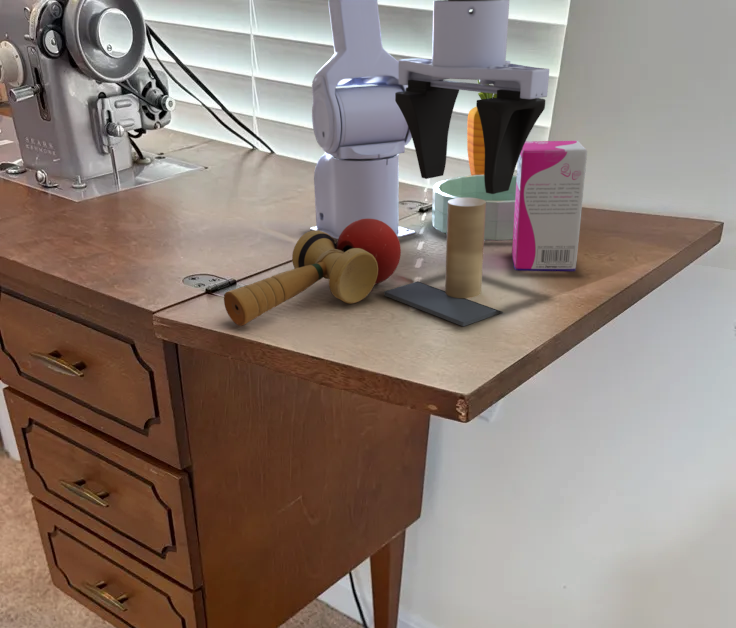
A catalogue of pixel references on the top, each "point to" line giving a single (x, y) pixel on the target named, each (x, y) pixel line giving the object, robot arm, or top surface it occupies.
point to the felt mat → (441, 303)
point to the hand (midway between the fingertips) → (463, 183)
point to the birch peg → (464, 247)
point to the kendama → (324, 269)
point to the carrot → (476, 138)
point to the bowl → (473, 186)
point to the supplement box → (548, 205)
